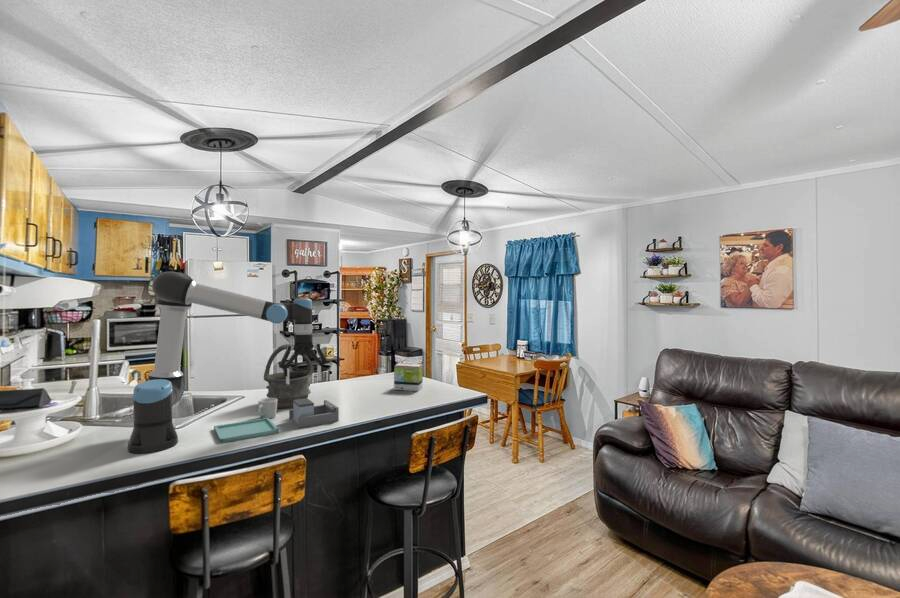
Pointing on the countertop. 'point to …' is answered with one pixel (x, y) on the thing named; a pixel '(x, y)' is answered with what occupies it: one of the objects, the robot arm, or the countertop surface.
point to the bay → (319, 415)
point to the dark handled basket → (297, 382)
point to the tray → (245, 430)
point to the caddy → (302, 408)
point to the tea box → (408, 376)
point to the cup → (267, 407)
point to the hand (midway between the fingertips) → (303, 382)
